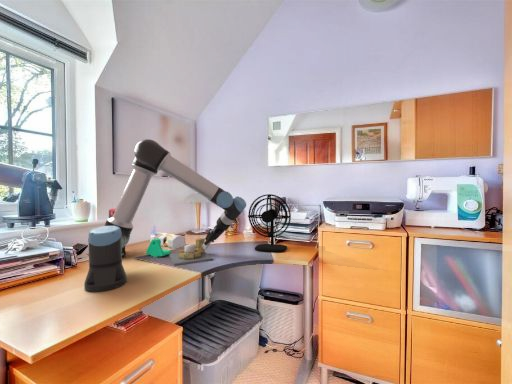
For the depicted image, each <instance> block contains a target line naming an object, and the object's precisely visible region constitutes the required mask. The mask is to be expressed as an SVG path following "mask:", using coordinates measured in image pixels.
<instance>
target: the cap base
mask: <svg viewBox="0 0 512 384" xmlns="http://www.w3.org/2000/svg"><path fill="white" fill-rule="evenodd" d="M195 249H196V244H192V243H191V244H185V245H184V249H183V250H184V253H188V251H191V253H194V252H195ZM168 257H169V259H170V261H171V262H172V264H173V265H174V266H175V267H176V266H182V265H187V264H194V263H201V262H203V263H204V262H208V261H213V257H211V255H209V254H208V253H207V252H206V251H205V252H203V253H201V256H200V257H197V258H193V259H182V258H179V252H177V253H170V254H168Z"/></svg>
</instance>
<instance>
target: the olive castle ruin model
mask: <svg viewBox="0 0 512 384" xmlns="http://www.w3.org/2000/svg"><path fill="white" fill-rule="evenodd" d="M205 238H206V237H205ZM205 238H204V237H200V238H196V239H195V252H194V253H191V251H188V253H184V249H179V250H178V253H179V258H182V259H193V258H197V257H200V256H201V253H203V252H206V251H205V250H206V249H203V247H202V245H203V244H204V242H205V241H206V240H205Z"/></svg>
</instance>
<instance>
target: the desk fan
mask: <svg viewBox="0 0 512 384" xmlns="http://www.w3.org/2000/svg"><path fill="white" fill-rule="evenodd" d="M266 196H267V197H266ZM264 197H266V198H264ZM273 197H275V198H273ZM261 198H262V199H261ZM263 201H266V203H265V204H261V205H260V206H259V204H260V203H261V202H263ZM272 201H275V202H277V203H278V204H279V205H278V204H276V203H272ZM258 206H259V207H258ZM269 206H270V209H269ZM257 207H258V208H257ZM263 207H266V209H265V211H262V209H263ZM281 207H282V208H281ZM273 208H274V209H273ZM278 208H279V209H278ZM255 211H256V212H255ZM258 211H259V212H258ZM261 211H262V213H261ZM283 211H284V213H283ZM280 212H281V213H280ZM258 213H259V214H258ZM283 214H284V215H283ZM291 215H292V214H291V209H290V206H289V205H288V203H287V202H286V200H285V199H283V198H281V197H280V196H278V195H275V194H268V193H267V194H262V195H261V196H258V197H257V198H255V199H254V200H253V201H252V203H251V204H250V206H249V209H248V215H247V218H248V221H249V225H250V226H251V228H252V229H253V231H254V232H256V234H258V235H260V236H262V237H264V238H270V243H260V244H257V245H256V246H254V250H255V251H258V252H269V253H270V252H271V253H281V252H286V251H287V250H288V246H287V245H285V244H276V243H275V238H276V237H280V236H281V235H282V234H283V233H284V232H286V231H287V229H288V228H289V226H290V224H291V219H292V216H291ZM258 219H259V220H260V222H261V223H262V224H263V225H264V226H265V227H264V226H263V225H261V224H260V223H259V221H258ZM276 219H277V220H278V222H277V223H276V224H274V223H275V220H276ZM283 219H284V222H283V224H282V226H281V228H280V229H278V230H274V229H275V228H276V227H277V226H279V225H280V224H281V222H282V221H283ZM287 221H288V223H287ZM269 225H270V226H269ZM285 226H286V227H285ZM284 227H285V228H284ZM283 229H284V230H283ZM282 230H283V231H282ZM280 231H281V232H280ZM279 232H280V233H279Z"/></svg>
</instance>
